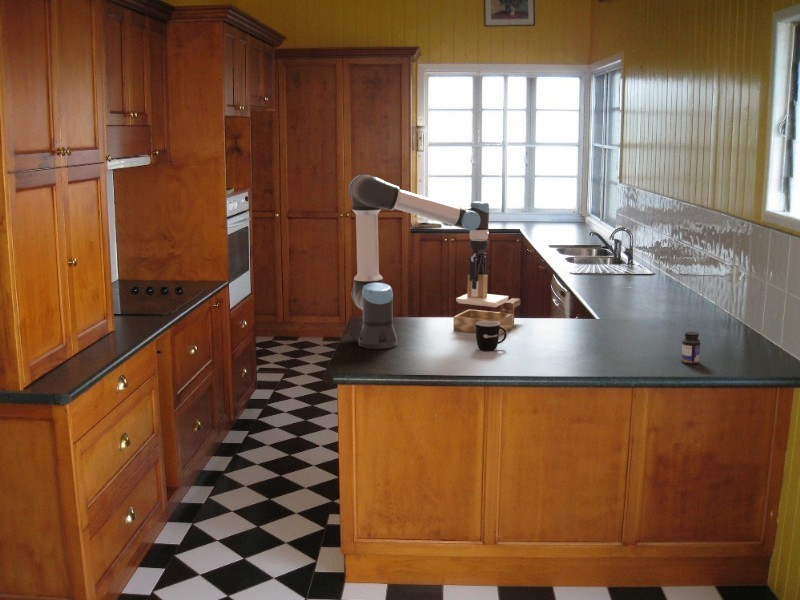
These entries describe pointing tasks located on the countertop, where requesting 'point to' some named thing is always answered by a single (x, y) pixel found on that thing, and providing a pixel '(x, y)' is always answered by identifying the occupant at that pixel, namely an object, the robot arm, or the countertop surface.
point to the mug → (488, 335)
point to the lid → (482, 295)
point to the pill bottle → (691, 348)
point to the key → (515, 300)
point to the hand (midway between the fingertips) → (477, 295)
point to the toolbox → (484, 319)
